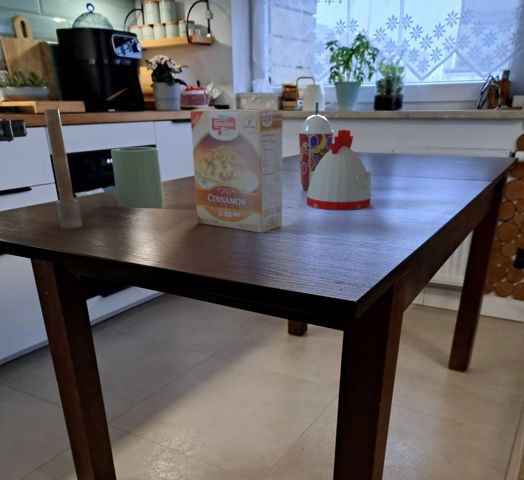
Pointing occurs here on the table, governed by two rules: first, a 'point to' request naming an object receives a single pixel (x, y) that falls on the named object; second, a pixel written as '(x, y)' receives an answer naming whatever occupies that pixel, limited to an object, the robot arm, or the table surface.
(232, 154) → the coffeecake box
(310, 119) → the smoothie
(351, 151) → the kitchen timer
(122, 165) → the green canister
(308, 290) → the table surface
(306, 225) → the table surface
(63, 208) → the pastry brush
